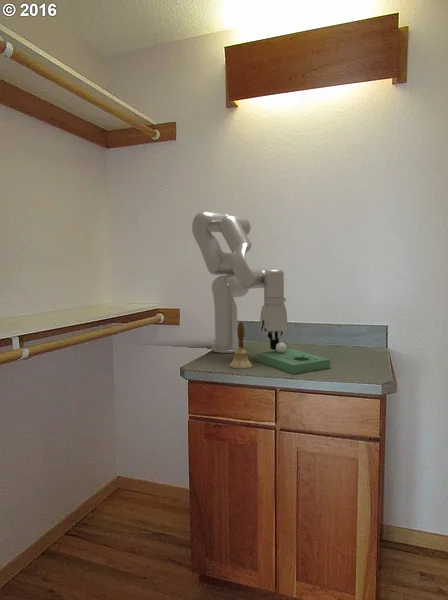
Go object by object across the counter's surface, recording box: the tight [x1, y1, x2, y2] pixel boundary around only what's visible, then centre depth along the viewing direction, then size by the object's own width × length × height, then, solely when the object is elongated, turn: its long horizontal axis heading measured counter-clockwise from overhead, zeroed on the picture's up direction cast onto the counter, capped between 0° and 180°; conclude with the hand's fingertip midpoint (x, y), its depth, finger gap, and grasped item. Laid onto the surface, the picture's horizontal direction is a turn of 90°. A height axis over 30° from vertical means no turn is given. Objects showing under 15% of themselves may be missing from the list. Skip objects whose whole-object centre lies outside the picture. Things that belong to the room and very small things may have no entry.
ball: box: [275, 341, 287, 353], centre depth 163 cm, size 4×4×4 cm
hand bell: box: [228, 321, 253, 370], centre depth 156 cm, size 8×8×16 cm
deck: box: [256, 348, 331, 375], centre depth 158 cm, size 22×16×3 cm
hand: (274, 349), depth 167 cm, fingers closed
